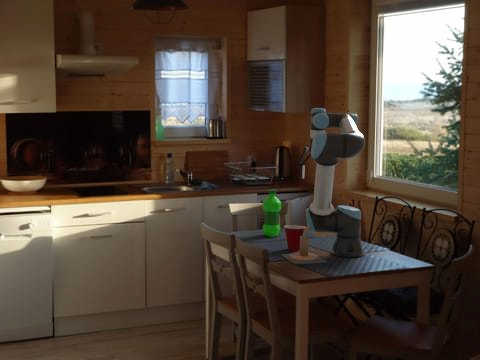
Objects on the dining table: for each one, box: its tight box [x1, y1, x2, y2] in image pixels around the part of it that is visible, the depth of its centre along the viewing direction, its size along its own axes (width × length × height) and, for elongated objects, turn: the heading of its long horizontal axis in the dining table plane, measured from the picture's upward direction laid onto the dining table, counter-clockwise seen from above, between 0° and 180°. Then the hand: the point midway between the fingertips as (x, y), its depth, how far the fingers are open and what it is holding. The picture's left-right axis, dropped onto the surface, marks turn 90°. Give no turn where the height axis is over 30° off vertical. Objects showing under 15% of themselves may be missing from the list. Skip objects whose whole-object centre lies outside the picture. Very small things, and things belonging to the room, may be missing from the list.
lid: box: [289, 235, 318, 261], centre depth 365 cm, size 13×13×10 cm
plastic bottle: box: [262, 189, 282, 238], centre depth 415 cm, size 10×10×25 cm
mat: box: [280, 253, 328, 265], centre depth 366 cm, size 18×16×1 cm
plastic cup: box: [283, 224, 306, 252], centre depth 385 cm, size 11×11×12 cm
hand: (316, 178), depth 402 cm, fingers open, 13 cm apart
